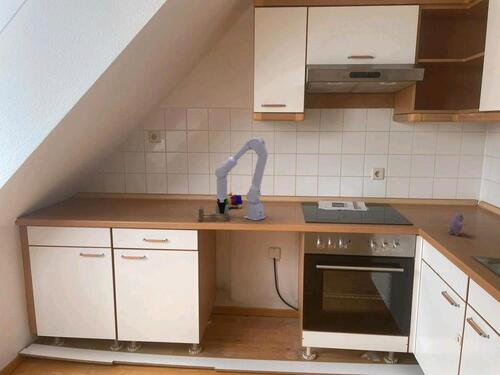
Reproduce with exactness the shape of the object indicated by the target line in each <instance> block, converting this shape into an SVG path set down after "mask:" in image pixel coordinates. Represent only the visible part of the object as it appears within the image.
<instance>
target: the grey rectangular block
mask: <svg viewBox="0 0 500 375" xmlns="http://www.w3.org/2000/svg"><path fill="white" fill-rule="evenodd" d="M228 213H229V207H228V205H226V206H225V211H224V214H228ZM215 214H220V212H219V207H218V204H216V205H215Z"/></svg>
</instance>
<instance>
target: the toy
mask: <svg viewBox="0 0 500 375" xmlns="http://www.w3.org/2000/svg"><path fill="white" fill-rule="evenodd" d="M226 202H227V204H226V205H228V208H230V206H235V207H237V208H238V209H241V208H242V207H243V206H242V205H243V199H242V195H241V194H239V195H237V194H233V192H231V191H230V192H229V193H227V200H226Z"/></svg>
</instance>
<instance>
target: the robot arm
mask: <svg viewBox="0 0 500 375" xmlns="http://www.w3.org/2000/svg"><path fill="white" fill-rule="evenodd" d="M251 150H252V151H254V152H255V154H256V155H257V160H256V164H255V168H254V173H253V177H252V180H251V185H250V187H249V190H248V191H247V193H246V196H245V198H246V215H245V216H243V218H244V219H248V220H252V221H259V220H263V219H266V216H265V205H264V204H263V203H261V200H260V197H261V196H262V195H261V194H262V193H261V185H262V181H263V176H264V172H265V169H266V164H267V161H268V158H269V157H268V156H269V153H268V149H267V145H266V142H265V141H264V139H263V138H262V137H261V136H255V137H251V138H250V139H249V140H248V141H246V142H245V143H244V144H242V145H241V147H240V148H239V149H238V150H237V151H236V153H234V155H232V156H229V157H226V158H225V161H224V162H223V163H220V164H219V167H217V168H216V170H215V172H214V173H215V176H216V195H215V196H214V199H216V200H217V201H216V205H218V207H219V212H220V214H224V211H225V206H226V204H227V202H226V200H227V197H228V196H227V194H228V176H229V175H228V174H229V173H231V171H232V170H233V169H234V168H235V167H236V166H237V165H238V160H240V159H241V158H242V157H243V156H244V155H245V154H246V153H247V152H248V151H251Z"/></svg>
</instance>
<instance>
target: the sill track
mask: <svg viewBox="0 0 500 375" xmlns="http://www.w3.org/2000/svg"><path fill="white" fill-rule="evenodd" d="M204 210H205V208H204V206H203V205H201V206H199V208H198V222H200V223H202V222H203V223H205V222H207V223H208V222H209V223H211V222H215V223H216V222H218V223H220V222H230V213H229V212H228V214H216V213H205V211H204Z"/></svg>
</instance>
